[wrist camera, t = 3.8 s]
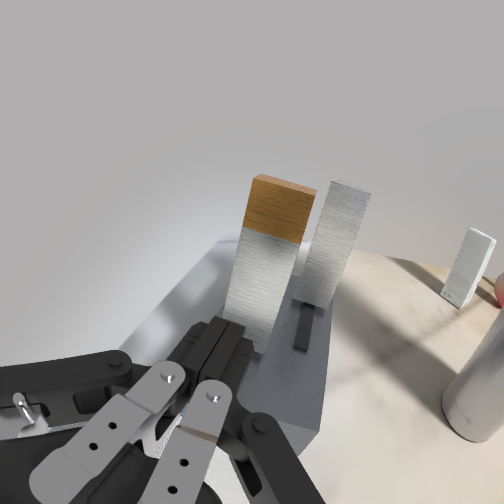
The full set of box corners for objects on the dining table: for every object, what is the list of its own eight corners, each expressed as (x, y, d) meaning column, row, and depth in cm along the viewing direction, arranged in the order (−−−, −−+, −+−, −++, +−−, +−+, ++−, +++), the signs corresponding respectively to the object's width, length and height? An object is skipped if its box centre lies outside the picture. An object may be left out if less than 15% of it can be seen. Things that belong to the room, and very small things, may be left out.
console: (246, 288, 37) (254, 259, 35) (321, 313, 36) (333, 285, 34) (171, 411, 19) (172, 378, 17) (298, 456, 17) (320, 429, 16)
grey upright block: (295, 288, 30) (331, 177, 25) (328, 299, 30) (368, 190, 25) (293, 298, 29) (331, 180, 24) (327, 309, 28) (370, 193, 23)
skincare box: (459, 310, 45) (493, 241, 38) (437, 294, 49) (468, 226, 43) (469, 302, 49) (498, 240, 43) (449, 288, 54) (476, 227, 47)
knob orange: (226, 323, 23) (261, 174, 18) (269, 338, 23) (316, 190, 18) (217, 337, 21) (253, 177, 16) (263, 354, 21) (314, 195, 16)
